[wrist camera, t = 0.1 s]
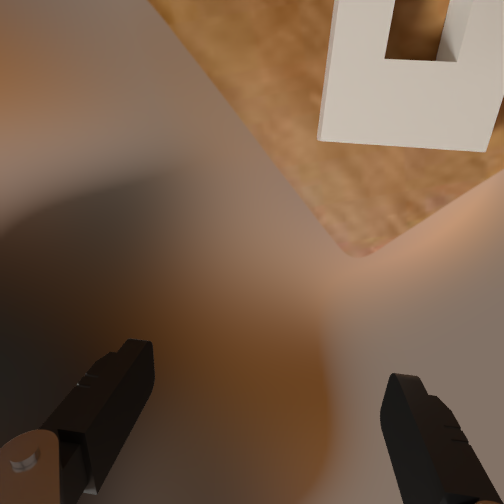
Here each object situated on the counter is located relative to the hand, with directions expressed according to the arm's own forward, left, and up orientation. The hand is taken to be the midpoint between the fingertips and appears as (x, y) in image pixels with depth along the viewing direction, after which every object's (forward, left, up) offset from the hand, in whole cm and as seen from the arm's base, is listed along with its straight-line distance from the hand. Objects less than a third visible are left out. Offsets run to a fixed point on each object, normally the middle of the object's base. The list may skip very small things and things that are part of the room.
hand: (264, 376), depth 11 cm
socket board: (-17, +10, -29) cm, 35 cm away
